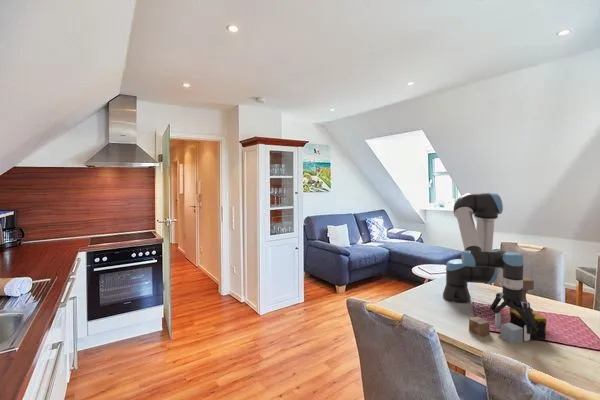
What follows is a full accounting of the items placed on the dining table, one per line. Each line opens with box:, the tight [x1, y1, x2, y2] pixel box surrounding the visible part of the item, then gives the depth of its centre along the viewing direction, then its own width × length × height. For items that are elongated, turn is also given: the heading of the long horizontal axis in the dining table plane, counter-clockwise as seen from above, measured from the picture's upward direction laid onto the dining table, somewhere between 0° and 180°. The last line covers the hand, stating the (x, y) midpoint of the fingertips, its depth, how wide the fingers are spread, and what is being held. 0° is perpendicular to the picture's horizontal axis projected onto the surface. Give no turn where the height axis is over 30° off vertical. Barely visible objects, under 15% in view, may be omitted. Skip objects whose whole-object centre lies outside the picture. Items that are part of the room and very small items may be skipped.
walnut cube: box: [468, 316, 491, 337], centre depth 148 cm, size 6×6×6 cm
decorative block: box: [509, 275, 535, 312], centre depth 166 cm, size 11×6×20 cm, turn 177°
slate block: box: [499, 322, 524, 344], centre depth 142 cm, size 6×6×6 cm
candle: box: [509, 309, 547, 341], centre depth 145 cm, size 10×10×10 cm
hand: (511, 333), depth 142 cm, fingers open, 13 cm apart
